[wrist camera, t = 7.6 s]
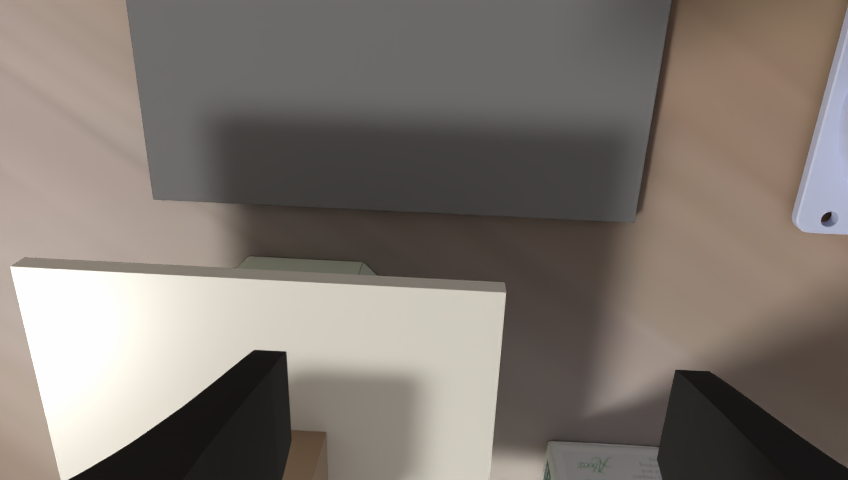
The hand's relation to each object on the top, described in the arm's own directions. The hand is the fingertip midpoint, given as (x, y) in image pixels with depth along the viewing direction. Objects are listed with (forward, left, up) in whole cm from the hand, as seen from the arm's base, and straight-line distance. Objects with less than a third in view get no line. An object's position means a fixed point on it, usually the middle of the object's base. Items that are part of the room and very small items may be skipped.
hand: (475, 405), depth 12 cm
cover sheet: (+6, +6, -5) cm, 10 cm away
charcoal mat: (+3, -7, -10) cm, 13 cm away
